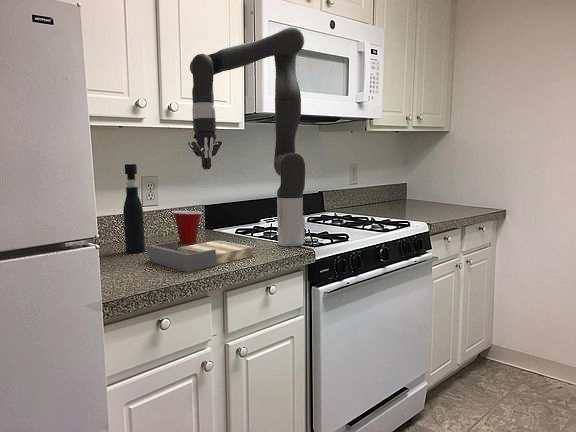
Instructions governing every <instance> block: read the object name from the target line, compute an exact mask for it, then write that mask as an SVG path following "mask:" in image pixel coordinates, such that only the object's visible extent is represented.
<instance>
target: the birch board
mask: <svg viewBox="0 0 576 432" xmlns="http://www.w3.org/2000/svg"><path fill="white" fill-rule="evenodd" d="M212 249H215V250H216V265H221V264H225V263H229V262H233V261H238V260H242V259H246V258H251V257H253V256H254V247H253V246H249V245H245V244H244V245H243V244H238V243H234V242H229V241H223V240H217V239H216V240H213V241H212V240H211V241H207V242H201V243H196V244H195V243H194V244H192V245H185V246H180V247H179V252H183V253H187V254H192V253H197V252H202V251H207V250H212Z"/></svg>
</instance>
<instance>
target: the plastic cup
mask: <svg viewBox="0 0 576 432" xmlns="http://www.w3.org/2000/svg"><path fill="white" fill-rule="evenodd" d="M172 213H173V215H174V218H175V222H176V228H177V233H178V237H179V242H180V243H181V244H183V245H185V244H186V245H189V244H195V243H196V242H197V237H198V233H199V223H200V219H201V215H202V214H203V212H202V211H197V210H173V211H172Z"/></svg>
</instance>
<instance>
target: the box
mask: <svg viewBox="0 0 576 432" xmlns="http://www.w3.org/2000/svg"><path fill="white" fill-rule="evenodd" d="M147 247H148V262H149V263H154V264H158V265H161V266H164V267H166V268H172V269H174V270H177V271H181V272H184V273H191V272H195V271H201V270H205V269H209V268H213V267H214V268H215V267H217V264H216V250H215V249H212V250H207V251H202V252H197V253H192V254H187V253H183V252H180V250H179V241H177V240H174V241H167V242H161V243H156V244H151V245H148V246H147ZM167 248H168V249H167ZM171 249H172V250H171Z"/></svg>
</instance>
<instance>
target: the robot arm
mask: <svg viewBox="0 0 576 432" xmlns="http://www.w3.org/2000/svg"><path fill="white" fill-rule="evenodd" d="M304 45H305V37H304V34H303V32H302V31H301V29H299V28H297V27H294V26H287V27H285V28H283V29H281V30H279V31H277V32H275V33H273V34H271V35H269V36H266V37H263V38H259V39H256V40H253V41H249V42H244V43H241V44H236V45H232V46H229V47H225V48H222V49H219V50H218V51H216V52H212V53H211V54H205V53H198V54H196V55H195V56H194V57H192V60H191V61H190V64H189V70H190V73H191V74H192V83H193V84H192V93H191V94H192V95H191V97H192V99H191V100H192V108H191V109H192V110H191V112H192V126H193V127H192V129H193V133H194V134H193V139H192V140H191V141H188V146H189V148H190V149H191V150H192V151H193V153H194V154H195V156H196V157H199V158H200V159H201V167H202V169H203V170H211V168H212V157H216V155H217V154H218V151H219V149H220V148H221V146H222V144H223V142H222V141H221V140H218V138H217V135H216V131H217V124H216V123H217V121H216V120H217V119H216V107H215V102H214V99H215V96H214V95H215V94H214V76H215V75H217V74H220V73H223V72H227V71H232V70H235V69H238V68H242V67H245V66H248V65H251V64H253V63H255V62H258V61H260V60H263V59H266V58H269V57H274V58H273V59H274V67H275V78H274V79H275V83H274V84H275V85H274V116H275V118H274V119H275V124H274V125H275V147H274V155H273V156H274V159H273V167H274V171H275V173H276V174H277V176H279V177H280V184H279V188H277V191H276V205H277V206H276V207H277V216H276V217H277V245H278V246H281V247H298V246H299V247H300V246H302V245H304V244H305V243H306V233H305V232H306V223H305V221H306V220H305V217H304V210H303V209H304V206H303V203H304V202H303V201H304V199H303V197H304V196H303V195H304V194H303V193H304V190H305V186H306V163H305V159H304V158H303V156H302V155H301V154H300V153H298V152H296V135H297V130H298V127H299V124H300V121H301V116H302V97H301V90H300V86H299V82H298V78H297V74H296V72H297V71H296V65H297V61H296V60H297V54H298V53H300V52H301V50H302V49H303V47H304Z"/></svg>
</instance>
